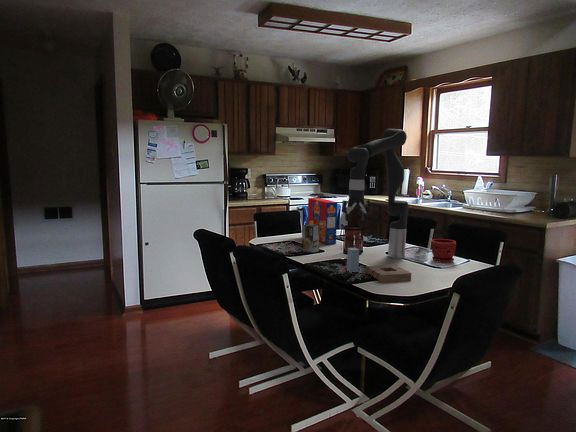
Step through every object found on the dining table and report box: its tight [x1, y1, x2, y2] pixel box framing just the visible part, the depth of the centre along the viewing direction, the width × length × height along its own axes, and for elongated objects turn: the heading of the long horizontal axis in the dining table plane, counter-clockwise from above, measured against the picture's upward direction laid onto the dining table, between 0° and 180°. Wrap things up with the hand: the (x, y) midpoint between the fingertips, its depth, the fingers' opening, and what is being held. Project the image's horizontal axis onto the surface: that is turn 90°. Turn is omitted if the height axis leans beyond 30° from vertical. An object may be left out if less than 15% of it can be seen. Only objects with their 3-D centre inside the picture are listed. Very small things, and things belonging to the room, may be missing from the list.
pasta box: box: [307, 197, 338, 246], centre depth 286 cm, size 28×8×28 cm, turn 22°
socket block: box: [365, 263, 412, 283], centre depth 205 cm, size 16×16×4 cm
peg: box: [346, 247, 360, 274], centre depth 212 cm, size 4×4×12 cm
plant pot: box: [430, 238, 457, 264], centre depth 236 cm, size 13×13×12 cm
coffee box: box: [301, 223, 320, 253], centre depth 255 cm, size 9×6×16 cm
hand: (355, 221), depth 208 cm, fingers open, 8 cm apart
